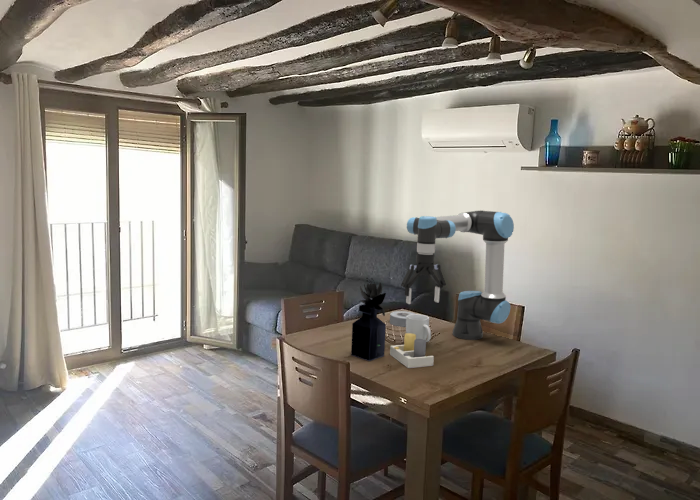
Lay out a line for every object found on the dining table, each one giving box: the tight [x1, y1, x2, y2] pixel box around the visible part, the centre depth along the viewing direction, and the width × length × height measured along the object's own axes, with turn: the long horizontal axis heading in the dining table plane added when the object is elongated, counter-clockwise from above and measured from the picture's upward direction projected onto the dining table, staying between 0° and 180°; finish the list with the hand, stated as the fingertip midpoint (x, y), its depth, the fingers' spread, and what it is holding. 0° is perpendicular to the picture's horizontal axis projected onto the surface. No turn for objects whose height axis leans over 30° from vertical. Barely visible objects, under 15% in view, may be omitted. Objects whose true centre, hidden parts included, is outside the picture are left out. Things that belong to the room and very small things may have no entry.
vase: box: [350, 277, 387, 362], centre depth 240 cm, size 14×12×35 cm
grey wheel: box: [389, 310, 416, 328], centre depth 298 cm, size 15×15×5 cm
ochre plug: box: [403, 332, 416, 351], centre depth 243 cm, size 5×5×10 cm
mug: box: [405, 313, 432, 343], centre depth 261 cm, size 15×11×13 cm
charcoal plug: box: [413, 339, 427, 358], centre depth 235 cm, size 5×5×10 cm
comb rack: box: [389, 344, 435, 369], centre depth 239 cm, size 12×18×5 cm, turn 21°
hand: (422, 302), depth 232 cm, fingers open, 13 cm apart
